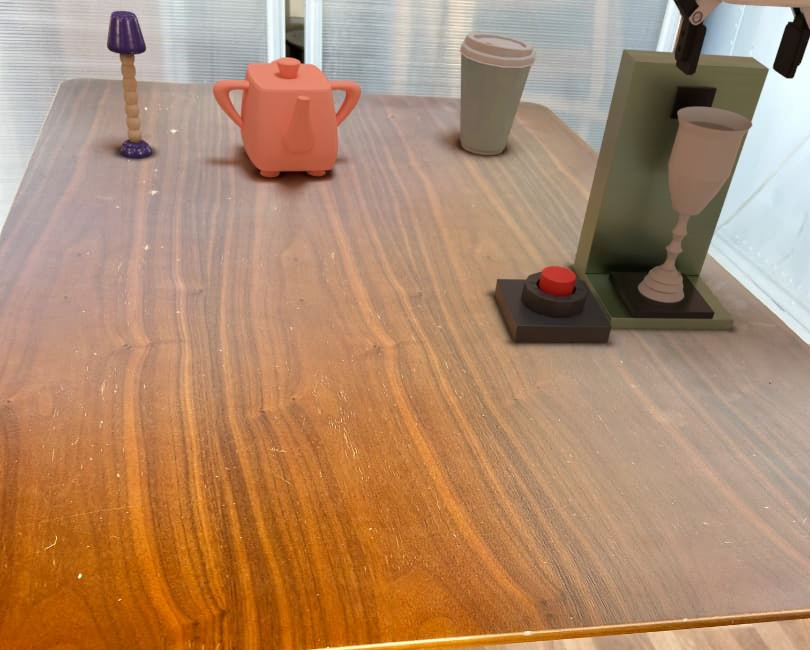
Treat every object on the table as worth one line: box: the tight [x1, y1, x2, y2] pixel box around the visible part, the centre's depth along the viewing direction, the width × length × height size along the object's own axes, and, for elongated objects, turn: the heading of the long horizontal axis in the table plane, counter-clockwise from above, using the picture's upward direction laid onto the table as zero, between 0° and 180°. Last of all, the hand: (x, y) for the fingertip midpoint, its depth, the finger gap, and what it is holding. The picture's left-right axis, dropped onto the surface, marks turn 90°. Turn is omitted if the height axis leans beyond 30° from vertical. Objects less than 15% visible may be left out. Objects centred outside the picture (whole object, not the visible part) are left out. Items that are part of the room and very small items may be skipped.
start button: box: [539, 265, 577, 296], centre depth 91 cm, size 4×4×2 cm
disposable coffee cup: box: [459, 31, 536, 156], centre depth 125 cm, size 11×11×15 cm
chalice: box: [638, 107, 753, 303], centre depth 90 cm, size 7×7×18 cm
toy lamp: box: [106, 10, 154, 160], centre depth 112 cm, size 5×5×17 cm
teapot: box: [212, 56, 362, 178], centre depth 115 cm, size 17×16×13 cm
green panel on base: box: [572, 48, 770, 330], centre depth 92 cm, size 14×14×24 cm
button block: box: [494, 271, 613, 344], centre depth 93 cm, size 10×10×4 cm
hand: (733, 72), depth 81 cm, fingers open, 9 cm apart
